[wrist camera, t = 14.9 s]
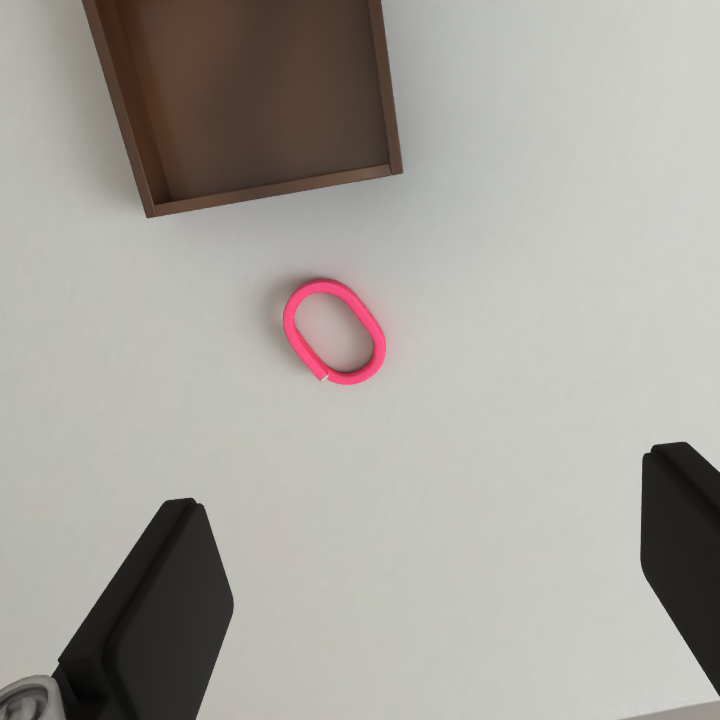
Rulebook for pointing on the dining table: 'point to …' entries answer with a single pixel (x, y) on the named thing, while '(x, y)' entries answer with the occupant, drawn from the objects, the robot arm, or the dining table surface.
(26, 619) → the dining table surface
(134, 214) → the dining table surface
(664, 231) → the dining table surface
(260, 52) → the walnut tray
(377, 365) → the fitness band
